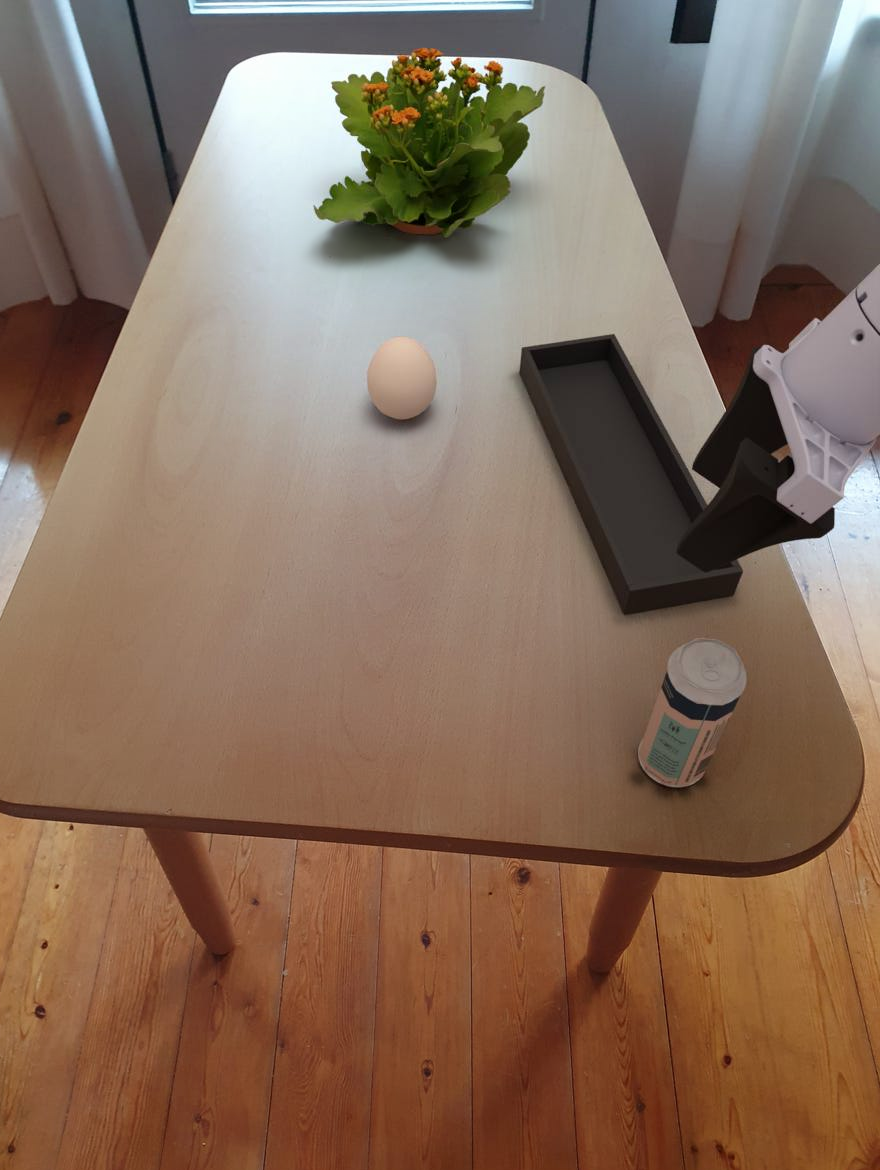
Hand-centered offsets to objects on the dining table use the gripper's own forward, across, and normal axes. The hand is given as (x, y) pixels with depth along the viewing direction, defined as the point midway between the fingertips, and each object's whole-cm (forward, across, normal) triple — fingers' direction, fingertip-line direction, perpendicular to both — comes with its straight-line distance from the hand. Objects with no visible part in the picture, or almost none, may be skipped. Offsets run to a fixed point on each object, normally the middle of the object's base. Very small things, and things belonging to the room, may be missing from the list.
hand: (699, 515), depth 53 cm
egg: (+28, -31, -15) cm, 44 cm away
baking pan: (+19, -28, +3) cm, 34 cm away
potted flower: (+27, -65, -24) cm, 74 cm away
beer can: (+18, -1, +13) cm, 22 cm away
